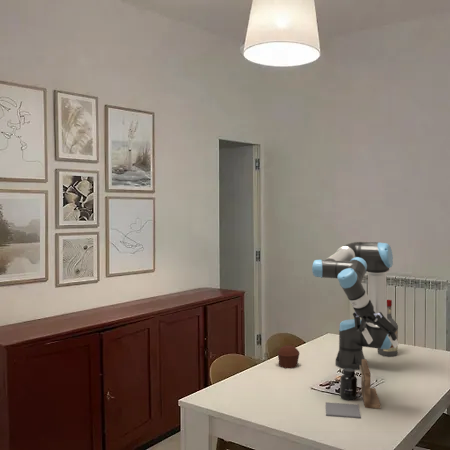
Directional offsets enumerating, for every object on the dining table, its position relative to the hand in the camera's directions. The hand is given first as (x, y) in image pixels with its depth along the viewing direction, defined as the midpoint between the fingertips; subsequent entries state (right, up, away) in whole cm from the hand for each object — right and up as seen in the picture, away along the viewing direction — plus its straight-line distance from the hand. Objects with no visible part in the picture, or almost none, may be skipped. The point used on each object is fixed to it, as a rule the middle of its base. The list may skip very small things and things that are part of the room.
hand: (383, 344), depth 222 cm
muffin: (-34, -22, +49) cm, 63 cm away
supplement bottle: (-14, -24, +3) cm, 28 cm away
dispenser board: (-5, -24, +2) cm, 24 cm away
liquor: (+23, -22, +71) cm, 78 cm away
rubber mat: (-19, -24, -11) cm, 33 cm away
